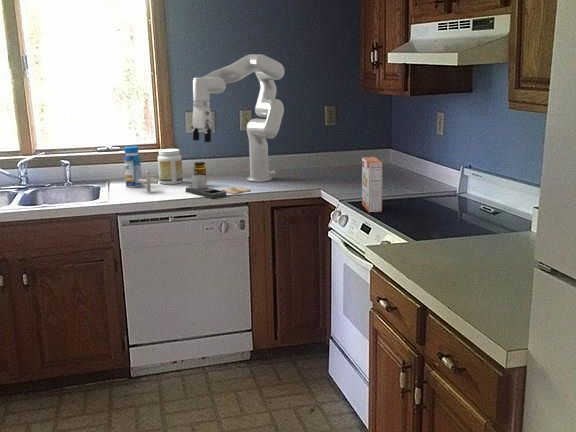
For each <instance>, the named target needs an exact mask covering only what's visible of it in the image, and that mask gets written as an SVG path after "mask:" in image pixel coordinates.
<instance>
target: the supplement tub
mask: <svg viewBox="0 0 576 432" xmlns="http://www.w3.org/2000/svg"><path fill="white" fill-rule="evenodd" d="M182 161H183V160H182V156H181V154H180V149H179V148H165V149H164V148H163V149H160V150H158V156H157V168H158V169H157V170H158V183H160V184H162V185H178V184H181V183H182V182H183V181H184V175H183V162H182Z"/></svg>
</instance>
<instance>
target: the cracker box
mask: <svg viewBox="0 0 576 432" xmlns="http://www.w3.org/2000/svg"><path fill="white" fill-rule="evenodd" d="M361 189H362V190H361V201H362V202H361V205H362V206H363V208H364V209H365V210H366V211H367V212H368V213H369V214H372V213H371V212H374V213H382V212H383V161H381V160H380V159H378V158H377V157H375V156H364V157H363V156H362V158H361Z"/></svg>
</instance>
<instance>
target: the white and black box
mask: <svg viewBox="0 0 576 432" xmlns="http://www.w3.org/2000/svg"><path fill="white" fill-rule="evenodd" d="M191 185H192V189H194V190H202V189H207V187H208V186H207V185H208V183H207V175H206V176H204V175H196V176H194V175H192V176H191Z"/></svg>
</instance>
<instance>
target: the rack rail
mask: <svg viewBox="0 0 576 432" xmlns="http://www.w3.org/2000/svg"><path fill="white" fill-rule="evenodd" d="M221 190H222V189H216V188H211V187H209V186H207V189H202V190H194V189H192V187H190V186H188V187H185V193H188V194H192V195H197V196H199V197H203V198H208V199H219V198H224V197H227V192H225V191H221Z"/></svg>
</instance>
